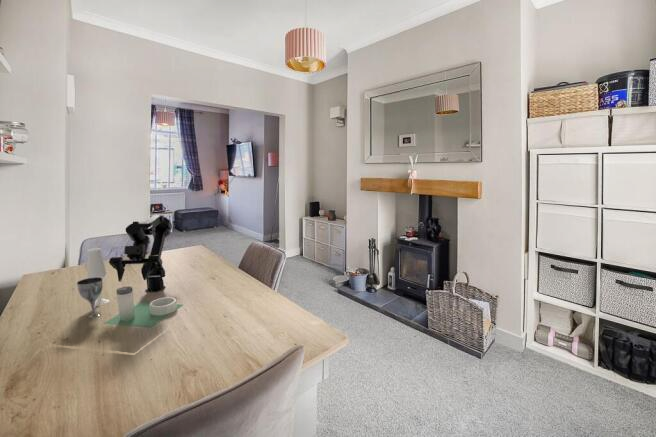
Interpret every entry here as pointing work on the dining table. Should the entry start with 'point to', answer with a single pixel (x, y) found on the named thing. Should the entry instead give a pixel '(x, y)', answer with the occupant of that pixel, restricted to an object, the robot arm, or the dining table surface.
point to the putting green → (149, 313)
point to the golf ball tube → (125, 303)
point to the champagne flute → (96, 269)
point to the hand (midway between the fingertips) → (132, 280)
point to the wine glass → (90, 291)
